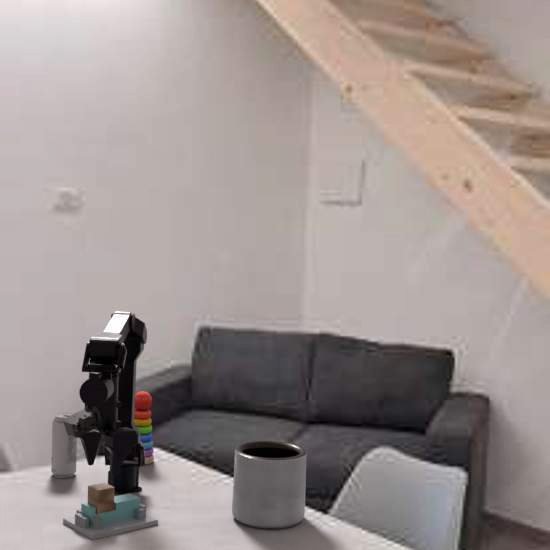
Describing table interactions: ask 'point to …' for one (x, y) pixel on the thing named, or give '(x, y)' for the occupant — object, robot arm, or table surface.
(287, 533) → the table surface
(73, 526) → the jig
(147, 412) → the stacking toy
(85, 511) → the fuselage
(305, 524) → the table surface
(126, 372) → the robot arm
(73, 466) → the energy drink can
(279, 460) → the planter
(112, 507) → the brown wooden cube
